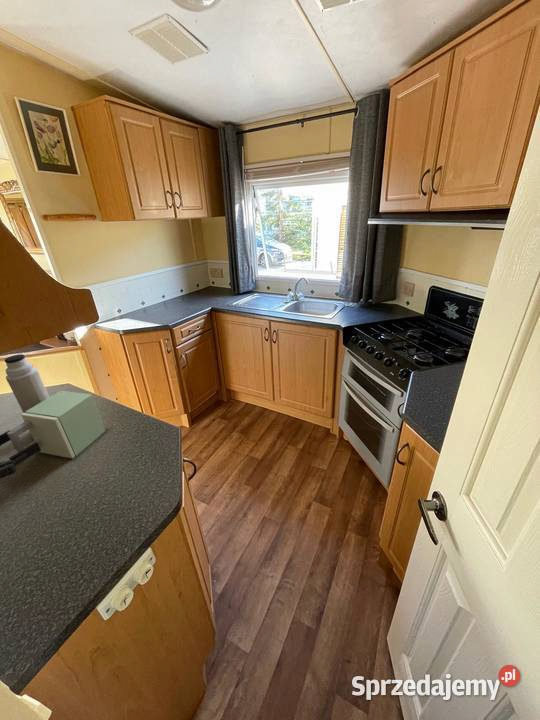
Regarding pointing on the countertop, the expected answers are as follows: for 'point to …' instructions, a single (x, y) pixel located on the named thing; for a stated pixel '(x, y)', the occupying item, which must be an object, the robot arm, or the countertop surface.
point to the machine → (73, 417)
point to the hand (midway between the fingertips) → (24, 439)
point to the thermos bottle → (25, 382)
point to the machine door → (43, 435)
